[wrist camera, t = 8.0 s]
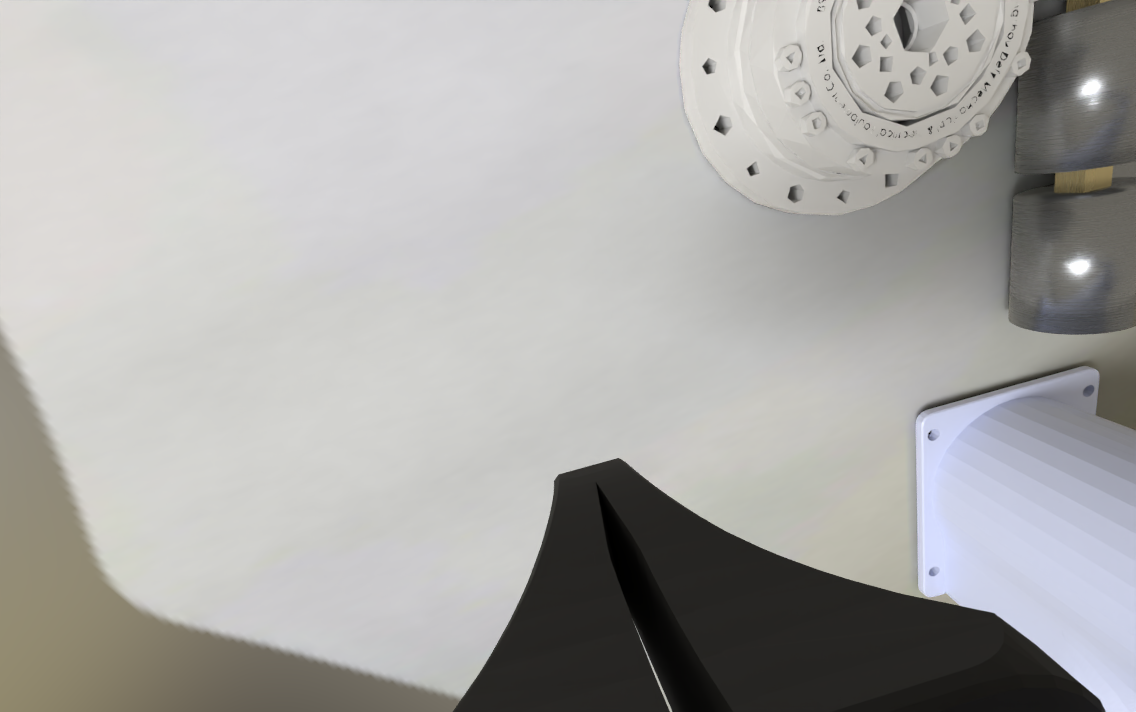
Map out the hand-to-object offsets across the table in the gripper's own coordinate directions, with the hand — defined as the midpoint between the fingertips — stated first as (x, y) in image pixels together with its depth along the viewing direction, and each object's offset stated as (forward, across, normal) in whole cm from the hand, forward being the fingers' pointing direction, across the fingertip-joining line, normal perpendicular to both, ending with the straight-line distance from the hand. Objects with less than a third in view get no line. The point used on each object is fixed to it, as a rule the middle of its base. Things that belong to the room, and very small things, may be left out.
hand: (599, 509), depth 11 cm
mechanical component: (+10, -11, -8) cm, 17 cm away
